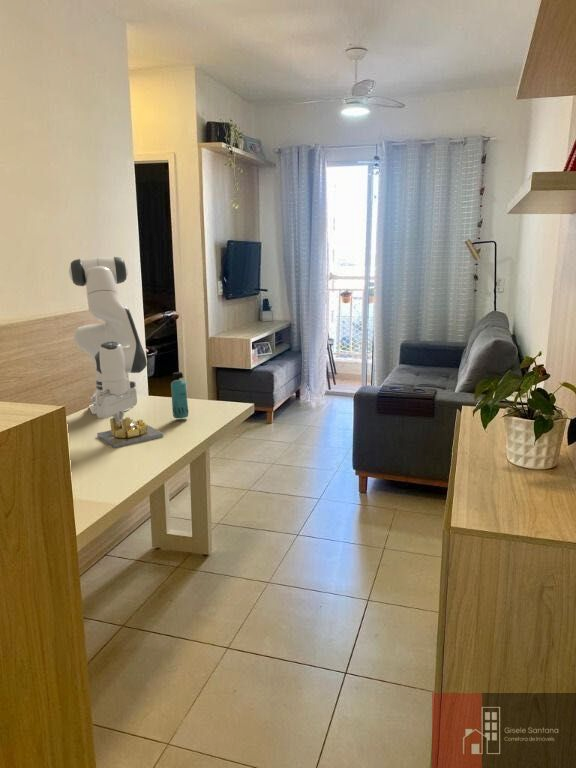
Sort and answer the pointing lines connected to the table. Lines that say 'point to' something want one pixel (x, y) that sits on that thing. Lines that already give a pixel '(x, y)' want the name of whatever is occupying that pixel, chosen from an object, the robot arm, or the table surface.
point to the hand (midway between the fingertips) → (119, 423)
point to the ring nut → (128, 428)
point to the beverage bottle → (179, 396)
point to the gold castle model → (120, 442)
